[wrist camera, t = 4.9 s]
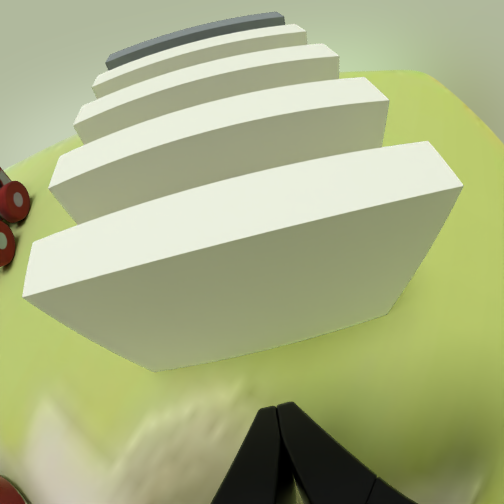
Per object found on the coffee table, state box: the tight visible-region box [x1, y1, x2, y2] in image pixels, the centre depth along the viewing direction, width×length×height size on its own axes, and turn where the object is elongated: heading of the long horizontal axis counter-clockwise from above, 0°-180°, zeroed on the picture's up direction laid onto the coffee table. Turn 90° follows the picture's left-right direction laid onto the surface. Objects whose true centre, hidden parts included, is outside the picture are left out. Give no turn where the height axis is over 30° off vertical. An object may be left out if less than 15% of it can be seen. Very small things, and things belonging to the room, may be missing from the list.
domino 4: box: [48, 77, 389, 225], centre depth 14 cm, size 2×13×10 cm, turn 102°
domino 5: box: [22, 141, 464, 372], centre depth 12 cm, size 2×13×10 cm, turn 102°
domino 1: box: [106, 12, 285, 70], centre depth 22 cm, size 2×13×10 cm, turn 102°
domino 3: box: [73, 44, 339, 145], centre depth 17 cm, size 2×13×10 cm, turn 102°
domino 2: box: [92, 24, 307, 99], centre depth 19 cm, size 2×13×10 cm, turn 102°
